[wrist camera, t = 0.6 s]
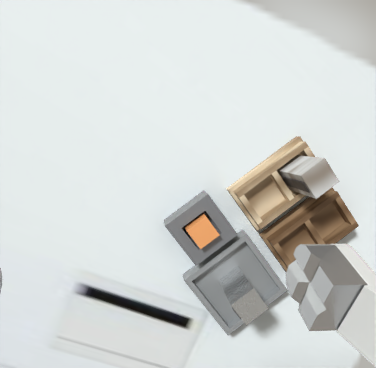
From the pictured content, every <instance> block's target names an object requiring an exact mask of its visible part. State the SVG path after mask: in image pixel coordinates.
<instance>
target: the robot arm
mask: <svg viewBox="0 0 376 368" xmlns="http://www.w3.org/2000/svg"><path fill="white" fill-rule="evenodd" d="M293 255H294V257H295V259H296V260H295V261H294V262H292V263H291V264H290V265H289V266H288V269H287V272H286V285H287V289H288V291H289V293H290V295H291V297H292V298H293V299H294V300H296V301H297V302H298V303H300V304H299V309H298V311H299V313H300V314H301V316H302V318H303V320H304V322H305V324H306V326H307V328H308V330H309V331H327V330H337V333H338V334H339V335H341V336H342V337H343V338H344V339H345V340H346V341H347V342H348V343H349V344H350V345H352V346H353V347H354V348H355V349H356V350H357V351H358V352H359V353H360V354H362V355H363V356H364V357H365V358H366V359H367V360H368V361H369V362H370V363H371V364H373V365H374V366H375V367H376V273H375V272H374V271H373V270H372V269H371V268H370V267H369V265H368V264H367V263H366V262H365V261H364V260H363V259H362V257H361V256H360V255H359V254H358V253H357V252H356V251H355V249H354V248H353V247H352V246H350V245H348V244H300V245H299V246H297V247H296V249H295V252H294V254H293ZM1 287H2V273H1V268H0V292H1Z"/></svg>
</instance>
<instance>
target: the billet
mask: <svg viewBox="0 0 376 368" xmlns="http://www.w3.org/2000/svg"><path fill="white" fill-rule="evenodd" d="M219 282H220V284H221V286H222V288H223V290H224V293H225V295H226V297H227V299H228V301H229V303H230V305H231V306H232V308H233V310H234V312H235V313H236V314H237V315H238V317H239V318H240V319H242V320H243V322H244V323H245V324H246V326H247V325H248V324H249V323H251V322H252V321H253V320H254V319H256V318H257V317H258V316H260V315H261V314H262V313H264V312H265V311H266V310H268V309H269V308H268V307H267V305H266V304H265V303H264V301H263V300H262V298H261V297H260V296H259V294H258V293H257V291H256V290H255V288H254V287H253V286H252V284H251V283H250V281H249V280H248V279H247V277H246V276H245V275H244V273H243V272H242V271H241V269H240V268H239V267H238V266H237V267H236V268H234V269H233V270H232V271H230V272H229V273H228V274H226V275H225V276H224V277H222V278H221V279H220V280H219Z"/></svg>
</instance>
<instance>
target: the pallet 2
mask: <svg viewBox="0 0 376 368" xmlns="http://www.w3.org/2000/svg"><path fill="white" fill-rule="evenodd" d="M358 226H359V225H358V224H357V222H356V221H355V219H354V217H353V216H352V214H351V213H350V211H349V210H348V208H347V206H346V205H345V203H344V202H343V200H342V199H341V197H340V195H339V194H338V192H336V191H334V189H333V188H330V189H329V190H328V191H326V192H325V193H324V194H322V195H321V196H320V197H318V198H317V199H315V198H312V197H308V198H307V199H306V200H304V201H303V202H302V203H300V204H299V205H298V206H296V207H295V208H294V209H292V210H291V211H290V212H288V213H287V214H286V215H284V216H283V217H282V218H280V219H279V220H278V221H276V222H275V223H274V224H272V225H271V226H270V227H268V228H267V229H266V230H264V231H263V232H262V233H260V234H259V235H260V237H261V238H262V239H263V241H264V242H265V244H266V245H267V246H268V248H269V249H270V251H271V252H272V253H273V255H274V256H275V258H276V259H277V260H278V262H279V263H280V265H281V266H282V267H283V269H284V270H285V272H287V269H288V266H289V265H290V264H291V263H292V262H294V261H295V260H296V259H295V257H294V255H293V254H294V252H295V249H296V247H297V246H299V245H300V244H335V243H337V242H338V241H339V240H341V239H342V238H343V237H345V236H346V235H347V234H349V233H350V232H351V231H353V230H354V229H355V228H357V227H358Z"/></svg>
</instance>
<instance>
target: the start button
mask: <svg viewBox="0 0 376 368" xmlns="http://www.w3.org/2000/svg"><path fill="white" fill-rule="evenodd" d="M185 228H186V231H187V232H188V233H189V235H190V236H191V237H192V239H193V240H194V241H195V243H196V244H197V245H198V246H199V248H200V249H202V248H203V247H204V246H206V245H207V244H208V243H210V242H211V241H212V240H214V239H215V238H217V237H218V236H219V233H218V232H217V231H216V229H215V228H214V226H213V225H212V224H211V222H210V221H209V220H208V218H207V217H206V216H205V214H204V213H202V214H200V215H199V216H198V217H196V218H195V219H194V220H192V221H191V222H190V223H188V224H187V225H186V226H185Z"/></svg>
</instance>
